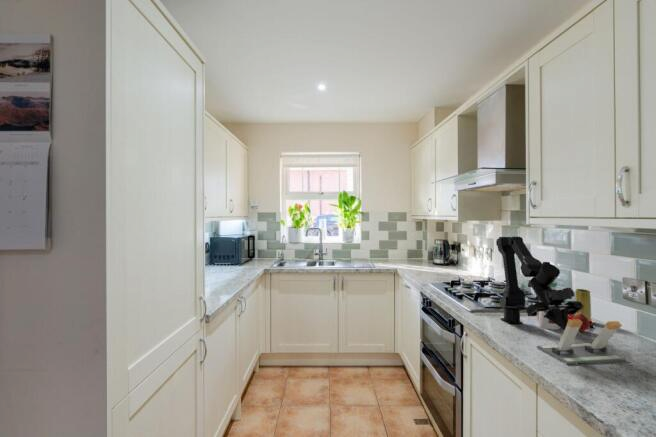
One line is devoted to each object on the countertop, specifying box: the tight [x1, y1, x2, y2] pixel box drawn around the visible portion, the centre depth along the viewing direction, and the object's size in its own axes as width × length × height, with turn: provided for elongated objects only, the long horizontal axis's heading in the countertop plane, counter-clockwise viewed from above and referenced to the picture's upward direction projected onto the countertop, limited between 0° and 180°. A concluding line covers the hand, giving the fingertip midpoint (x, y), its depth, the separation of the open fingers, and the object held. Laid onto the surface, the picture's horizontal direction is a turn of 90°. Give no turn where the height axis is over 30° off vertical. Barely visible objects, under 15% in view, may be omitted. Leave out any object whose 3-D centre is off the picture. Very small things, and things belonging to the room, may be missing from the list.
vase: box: [573, 288, 592, 322], centre depth 146 cm, size 6×6×14 cm
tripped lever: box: [557, 318, 583, 352], centre depth 109 cm, size 2×4×14 cm, turn 97°
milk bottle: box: [538, 281, 561, 331], centre depth 138 cm, size 8×8×20 cm
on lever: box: [590, 320, 622, 350], centre depth 110 cm, size 2×4×14 cm
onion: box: [572, 313, 590, 332], centre depth 134 cm, size 6×6×8 cm
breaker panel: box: [536, 342, 627, 365], centre depth 113 cm, size 13×22×2 cm, turn 96°
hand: (568, 331), depth 109 cm, fingers closed, pressing on tripped lever
